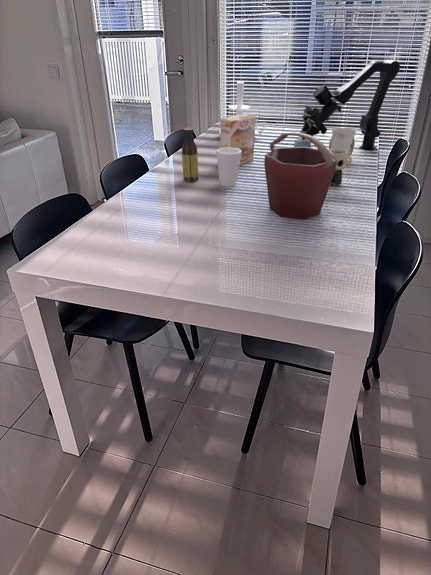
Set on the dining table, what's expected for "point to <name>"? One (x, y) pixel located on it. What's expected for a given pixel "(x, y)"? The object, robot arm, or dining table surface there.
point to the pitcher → (343, 140)
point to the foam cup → (228, 165)
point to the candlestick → (241, 107)
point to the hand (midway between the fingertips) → (300, 137)
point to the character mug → (339, 164)
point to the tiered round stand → (302, 143)
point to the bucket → (298, 178)
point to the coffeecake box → (239, 135)
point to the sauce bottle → (189, 156)
